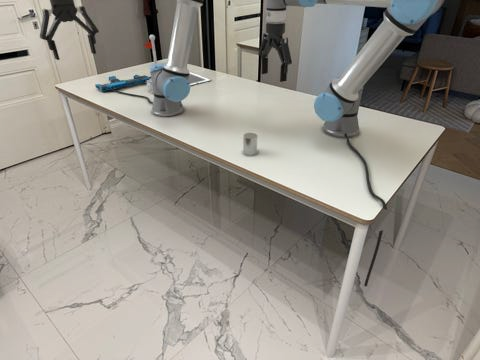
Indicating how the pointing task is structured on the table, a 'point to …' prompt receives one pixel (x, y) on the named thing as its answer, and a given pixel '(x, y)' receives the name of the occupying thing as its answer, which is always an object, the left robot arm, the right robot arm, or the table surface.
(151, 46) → the flag stand
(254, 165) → the table surface
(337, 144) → the table surface
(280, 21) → the right robot arm
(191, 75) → the tablet
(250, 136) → the canister
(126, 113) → the table surface
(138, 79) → the submachine gun
